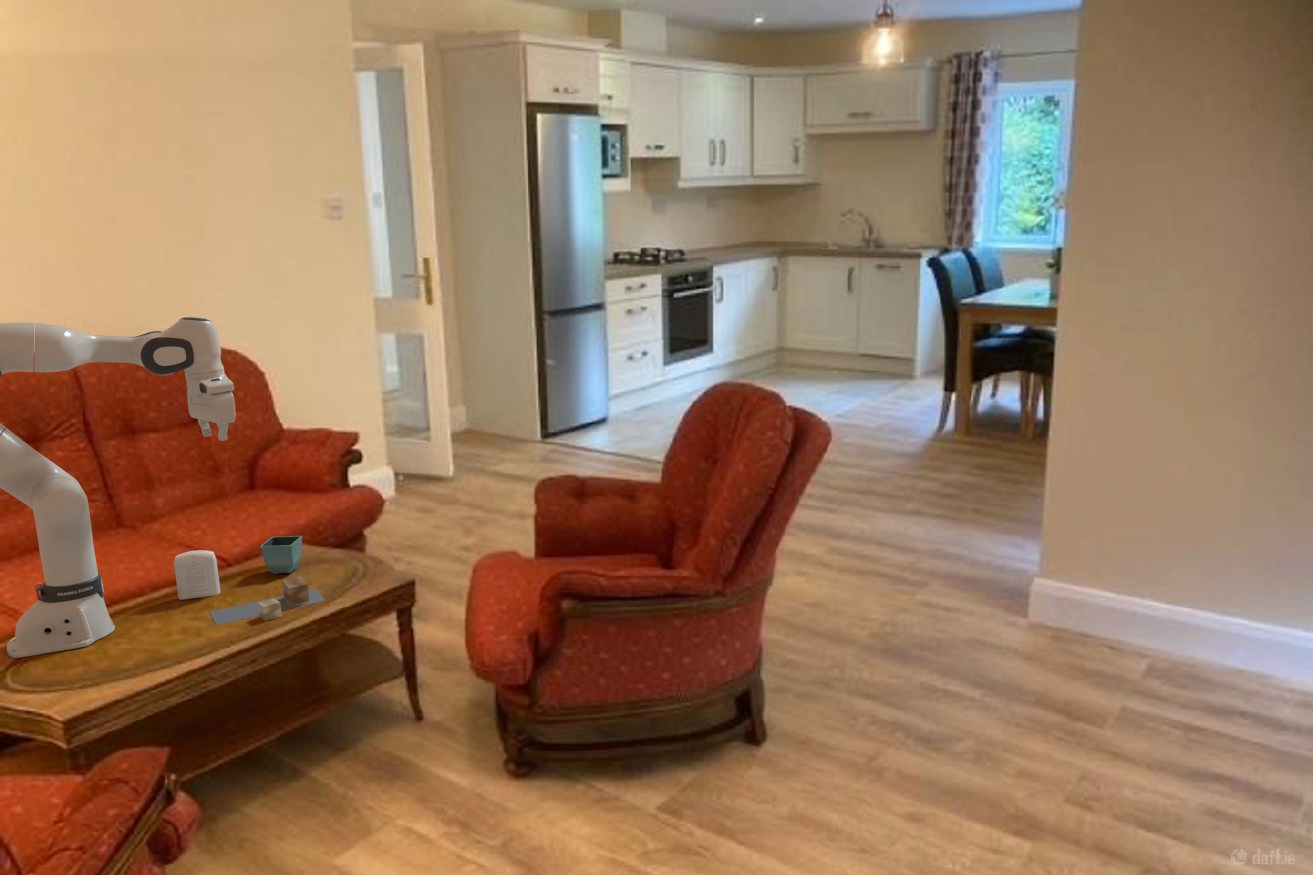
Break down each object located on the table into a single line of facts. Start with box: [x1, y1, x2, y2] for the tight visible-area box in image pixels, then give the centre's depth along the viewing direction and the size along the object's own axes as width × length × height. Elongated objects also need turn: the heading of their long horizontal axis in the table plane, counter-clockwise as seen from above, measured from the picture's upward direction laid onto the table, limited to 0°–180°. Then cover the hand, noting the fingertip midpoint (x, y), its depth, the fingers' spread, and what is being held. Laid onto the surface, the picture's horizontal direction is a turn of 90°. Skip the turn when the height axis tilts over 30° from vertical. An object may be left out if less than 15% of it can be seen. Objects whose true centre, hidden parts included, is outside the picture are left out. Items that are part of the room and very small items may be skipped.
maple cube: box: [258, 598, 283, 622], centre depth 251 cm, size 4×4×4 cm
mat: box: [209, 588, 327, 626], centre depth 259 cm, size 26×11×1 cm, turn 122°
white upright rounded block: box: [173, 549, 221, 601], centre depth 269 cm, size 10×4×12 cm, turn 107°
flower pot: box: [259, 535, 303, 574], centre depth 286 cm, size 9×9×9 cm
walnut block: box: [281, 575, 309, 606], centre depth 262 cm, size 4×8×5 cm, turn 32°
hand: (215, 438), depth 254 cm, fingers open, 8 cm apart
